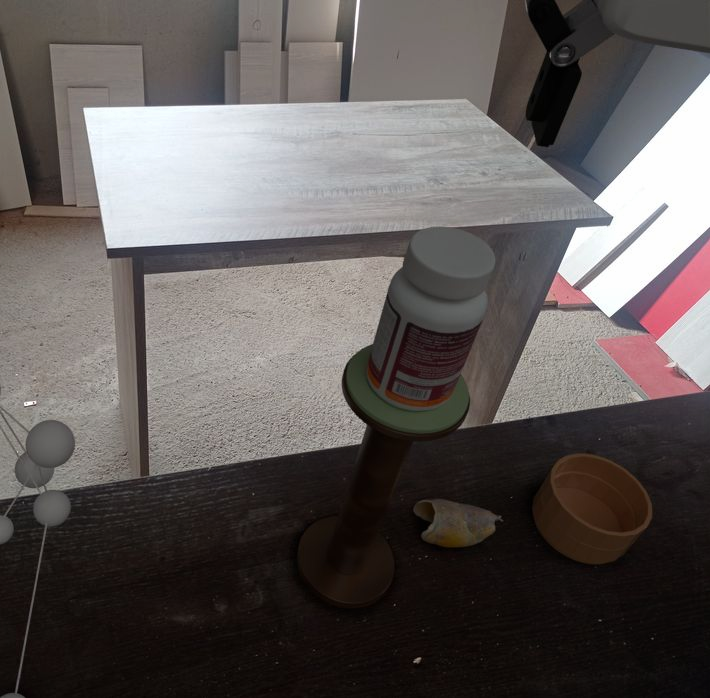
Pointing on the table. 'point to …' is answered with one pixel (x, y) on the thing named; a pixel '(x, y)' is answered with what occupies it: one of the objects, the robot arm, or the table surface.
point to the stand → (360, 519)
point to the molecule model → (40, 484)
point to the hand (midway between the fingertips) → (634, 150)
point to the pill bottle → (430, 318)
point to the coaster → (397, 416)
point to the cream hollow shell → (455, 523)
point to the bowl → (591, 509)
